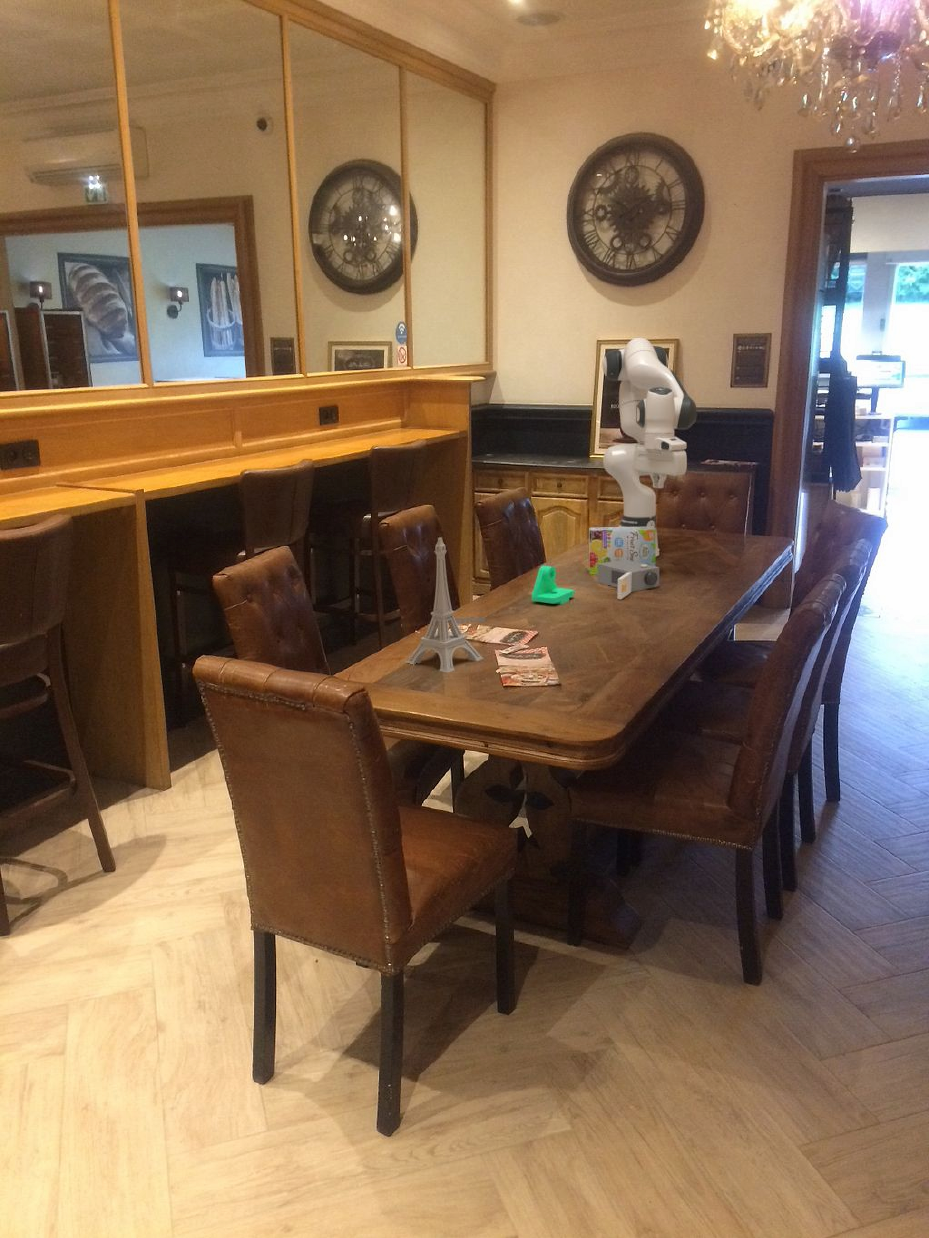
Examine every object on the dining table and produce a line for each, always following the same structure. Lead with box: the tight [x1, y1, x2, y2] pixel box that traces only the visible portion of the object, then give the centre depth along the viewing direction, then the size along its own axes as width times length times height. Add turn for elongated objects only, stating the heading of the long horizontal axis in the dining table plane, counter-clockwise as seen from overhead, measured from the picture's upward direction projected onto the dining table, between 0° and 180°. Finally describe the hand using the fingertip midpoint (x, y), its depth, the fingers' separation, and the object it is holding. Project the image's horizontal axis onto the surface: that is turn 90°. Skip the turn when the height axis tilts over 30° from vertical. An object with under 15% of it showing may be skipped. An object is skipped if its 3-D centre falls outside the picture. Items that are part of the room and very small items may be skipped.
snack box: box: [588, 526, 657, 576], centre depth 321 cm, size 21×6×15 cm, turn 84°
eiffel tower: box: [404, 537, 485, 674], centre depth 233 cm, size 13×13×30 cm
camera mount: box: [531, 565, 575, 605], centre depth 289 cm, size 12×8×10 cm, turn 144°
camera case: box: [596, 559, 660, 593], centre depth 306 cm, size 17×11×7 cm, turn 33°
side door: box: [616, 572, 632, 600], centre depth 292 cm, size 10×2×6 cm, turn 153°
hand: (658, 487), depth 305 cm, fingers closed
